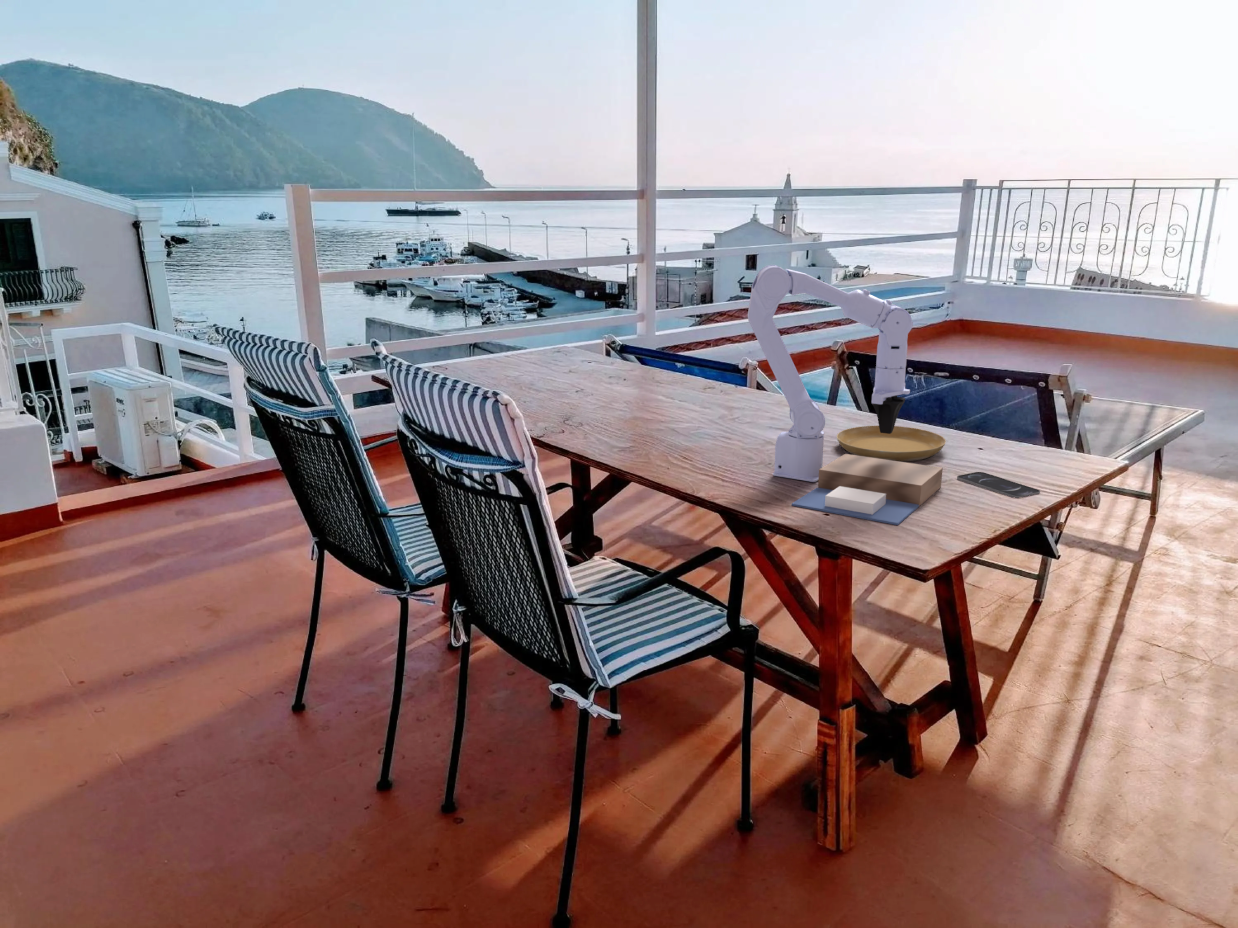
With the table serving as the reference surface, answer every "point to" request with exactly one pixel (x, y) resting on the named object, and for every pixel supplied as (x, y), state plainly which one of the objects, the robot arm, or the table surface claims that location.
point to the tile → (855, 500)
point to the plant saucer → (891, 443)
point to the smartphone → (998, 484)
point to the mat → (888, 513)
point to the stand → (882, 477)
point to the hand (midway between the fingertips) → (886, 432)
